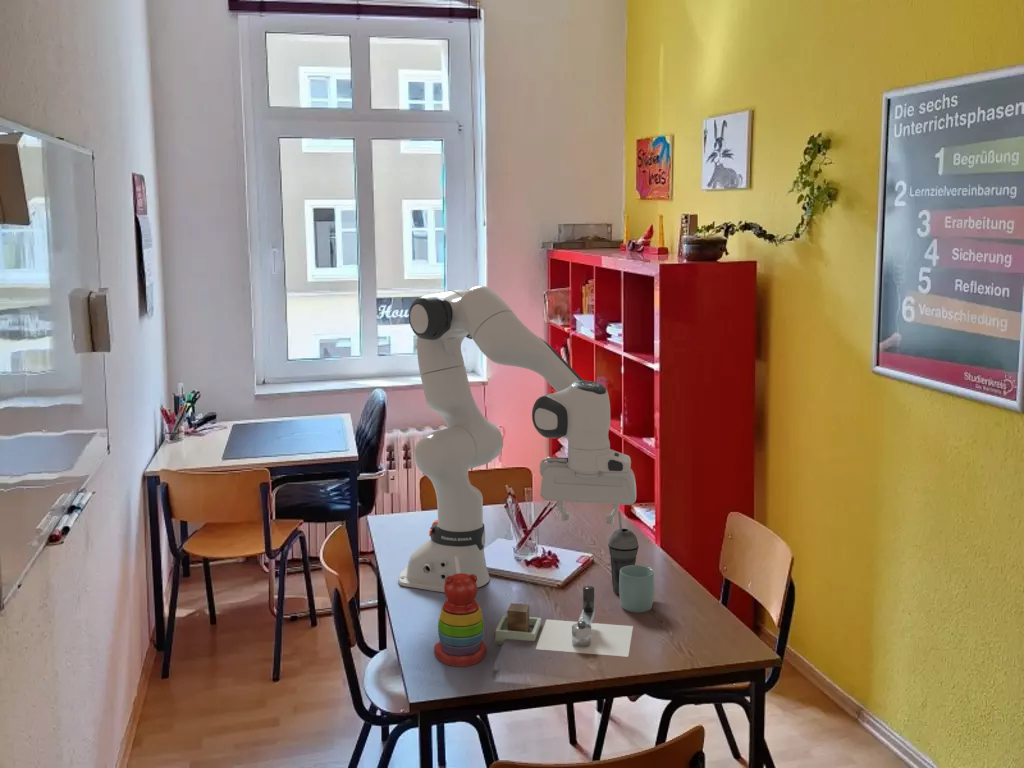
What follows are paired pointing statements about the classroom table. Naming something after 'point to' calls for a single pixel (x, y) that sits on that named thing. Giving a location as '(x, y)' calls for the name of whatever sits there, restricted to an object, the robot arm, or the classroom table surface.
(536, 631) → the tray
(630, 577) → the cup
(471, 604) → the stacking bear
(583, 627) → the crank
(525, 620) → the block
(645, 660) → the classroom table surface
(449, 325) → the robot arm
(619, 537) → the beverage cup
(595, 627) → the crank plate
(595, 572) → the classroom table surface
